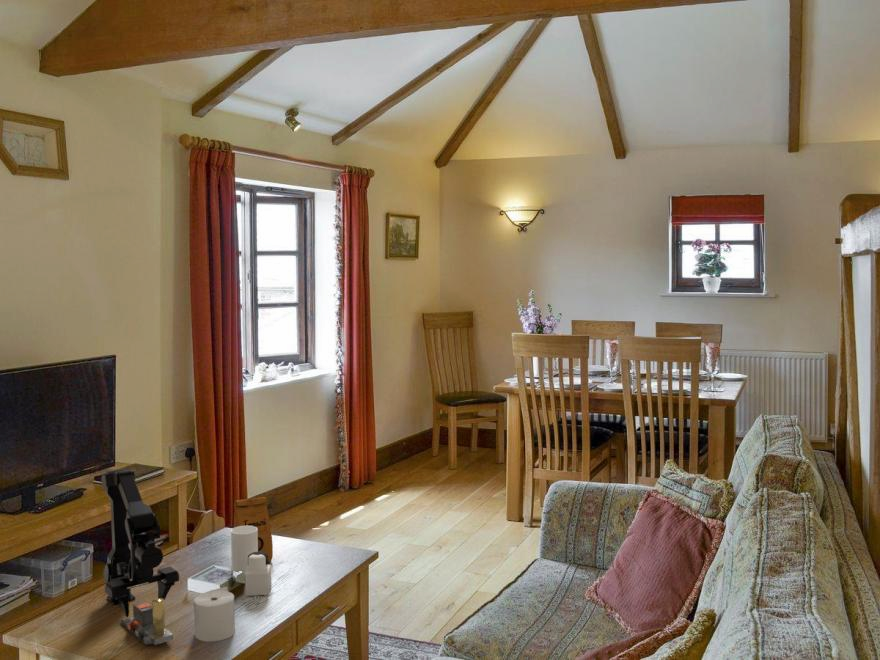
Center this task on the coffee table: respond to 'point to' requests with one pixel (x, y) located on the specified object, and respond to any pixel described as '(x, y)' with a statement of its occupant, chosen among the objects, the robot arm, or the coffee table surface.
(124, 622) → the guide
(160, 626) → the rack
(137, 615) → the grey and red block
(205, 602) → the toilet tissue
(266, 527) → the coffee package
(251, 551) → the white cylinder
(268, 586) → the medicine bottle
